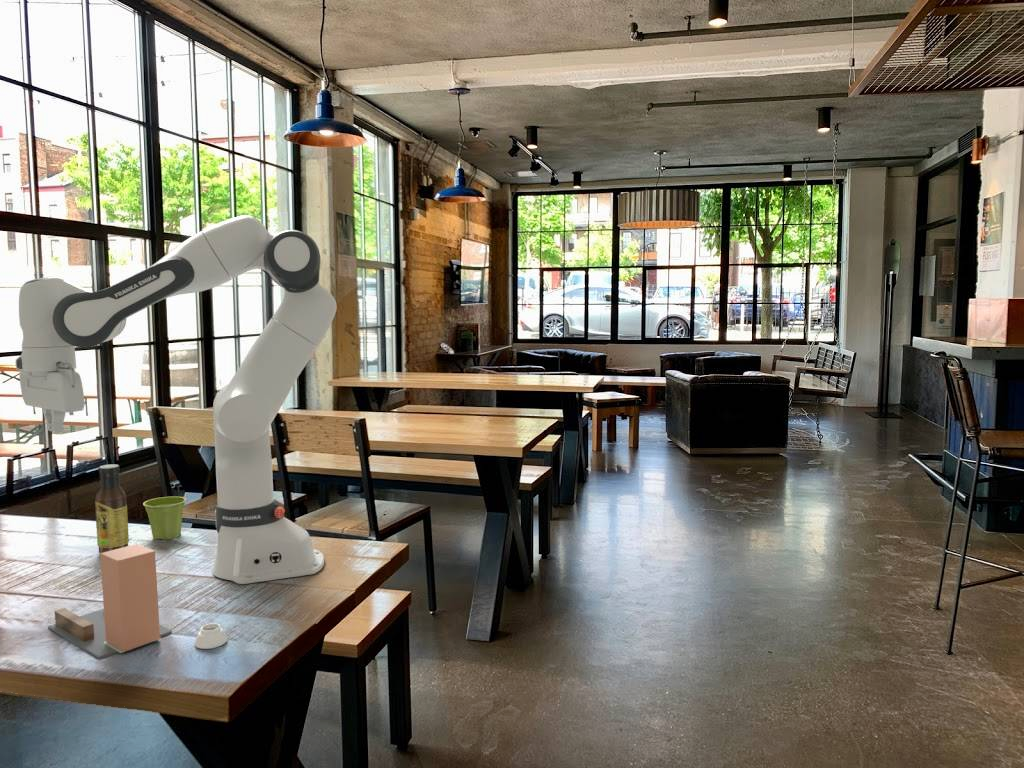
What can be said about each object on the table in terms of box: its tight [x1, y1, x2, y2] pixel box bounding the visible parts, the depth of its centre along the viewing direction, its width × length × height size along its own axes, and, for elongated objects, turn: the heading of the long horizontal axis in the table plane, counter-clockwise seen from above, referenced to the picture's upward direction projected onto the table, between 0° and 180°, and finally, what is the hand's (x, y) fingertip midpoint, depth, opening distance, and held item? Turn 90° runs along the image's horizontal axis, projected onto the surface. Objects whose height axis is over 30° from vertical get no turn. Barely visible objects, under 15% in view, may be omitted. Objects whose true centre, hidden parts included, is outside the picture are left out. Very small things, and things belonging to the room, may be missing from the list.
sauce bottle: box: [94, 463, 130, 554], centre depth 173 cm, size 6×6×20 cm
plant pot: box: [142, 496, 187, 541], centre depth 185 cm, size 9×9×9 cm
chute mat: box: [47, 608, 173, 660], centre depth 133 cm, size 20×12×1 cm, turn 52°
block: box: [99, 543, 161, 653], centre depth 127 cm, size 6×6×15 cm
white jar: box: [194, 622, 228, 650], centre depth 128 cm, size 5×3×5 cm
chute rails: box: [54, 607, 94, 642], centre depth 135 cm, size 11×10×2 cm
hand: (55, 431), depth 152 cm, fingers closed
